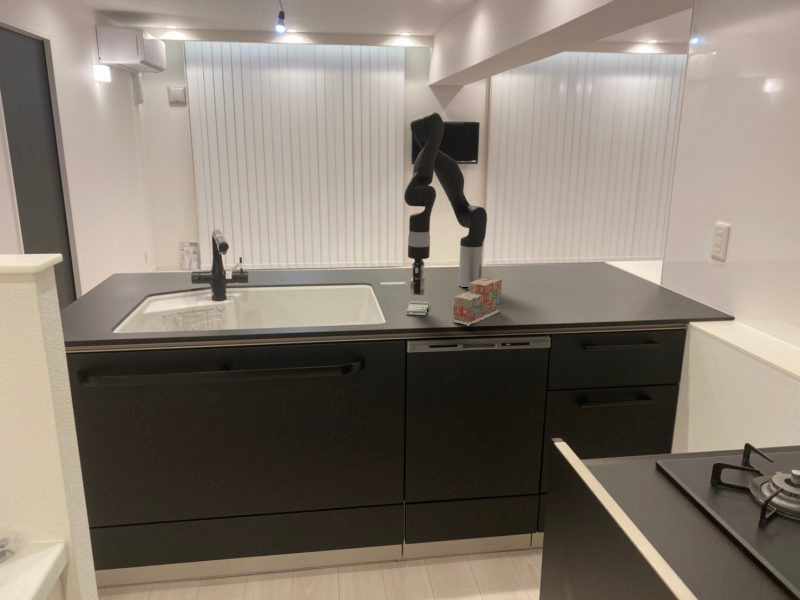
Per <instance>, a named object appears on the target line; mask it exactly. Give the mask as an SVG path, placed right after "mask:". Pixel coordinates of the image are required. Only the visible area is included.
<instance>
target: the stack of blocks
mask: <svg viewBox="0 0 800 600" xmlns="http://www.w3.org/2000/svg"><path fill="white" fill-rule="evenodd" d="M501 296H502V279H500V278H499V279H498V278H493V277H486V276H485V277H482V278H481V279H478V280H476V281H474V282H470V283H469V288H468V291H466V292H463V293H461V294H459V295H455V296H454V303H453V319H455V320H459V321H463V322H467V323H469V322H472V321H474V320H476V319H478V318H481V317H483V316H484V315H487V314H490V313H492V312H494V311H496V310H499V309H500V310H501ZM453 319H452V320H453Z"/></svg>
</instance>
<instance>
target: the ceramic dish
mask: <svg viewBox="0 0 800 600" xmlns="http://www.w3.org/2000/svg"><path fill="white" fill-rule="evenodd" d="M428 305H429V306H430V304H429V302H428V301H412V300H411V301H409V303H408V306H407V310H406V312H407V313H409V312H413V313H426V311H423V310H420V309H426V308H425V307H427V308H428V309H429V307H428ZM422 307H424V308H422ZM417 309H418V310H417Z"/></svg>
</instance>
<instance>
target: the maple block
mask: <svg viewBox="0 0 800 600" xmlns="http://www.w3.org/2000/svg"><path fill="white" fill-rule="evenodd" d="M415 279H418V280H419V278H415ZM425 282H426V281H425V278H421V284H420V294H414V283H413V277H411V279H410V286H409V288H410V292H409V294H410V296H424V294H425V284H426V283H425Z"/></svg>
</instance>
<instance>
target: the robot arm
mask: <svg viewBox="0 0 800 600" xmlns="http://www.w3.org/2000/svg"><path fill="white" fill-rule="evenodd" d="M410 132H411V134H412V136H413V138H414V141H415V142H416V144H417V145H418V147H419V148H420V152H419V153H418V155H417V157H416V158H415V160H414V163H413V170H412V176H411V178H410V181H409V182H408V185H407V187H406V189H405V191H404V198H403V199H404V202H405V204H406V205H408V206H409V207H422V208H423V207H424V209H423V211H421V212H416V213H415V212H414V213H411V214H410V215H409V222H408V226H409V227H408V228H409V229H408V230H409V231H408V238H407V257H408V258H409V259H413V260H414V261H413V262H412V265H411V268H412V278H413V283H414V294H420V284H421V278H423V276H424V272H425V271H424V268H425V262H424V260H427V259H429V258H430V255H431V254H430V253H431V252H430V251H431V249H430V247H431V244H430V243H431V233H430V228H431V226H430V225H431V216H432V211H433V207H434V205H435V201H436V198H437V192H436V189H435V187H434V186H431V183H432V182H433V179H434V174H435V176H436V178H437V180H438V182H439V183H440V186H441V187H442V189H443V191H444V193H445V195H446V197H447V199H448V201H449V202H450V205H451V208H452V210H453V213H454V215H455V218H456V221H457V222H458V224H459V225H460V226H462V227H463V228H465V229H468V234H467V235H466V236H462V237H461V238H460V242H459V243H460V245H459V246H460V247H459V267H458V287H459V286H462V287H469V283H470V282H474V281H476V280H478V279H481V278H483V277H482V273H483V251H484V250H483V249H484V248H483V247H484V241H485V239H486V234H487V223H488V214H487V210H486V209H485V208H484V207H483V206H477V205H472V204H470V203H469V201H468V200H467V198H466V195H465V193H464V189H465V188H464V187H465V177H464V175H463V172H462V170H461V168H460V166H459V164H458V162H457V161H456V160H455V159H454V158H452V157H451V156H449V155H448V154H446V153H444V152H443V151H442V150H440V147H441V144H442V140H443V136H444V133H445V125H444V121H443V118H442V116H441V115H440V114H439V113H437V112H430V113H427V114H424V115H422V116H419V117H415V118H413V119H412V120H411V121H410ZM415 278H419V280H418V279H415ZM462 287H461V288H462Z"/></svg>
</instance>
